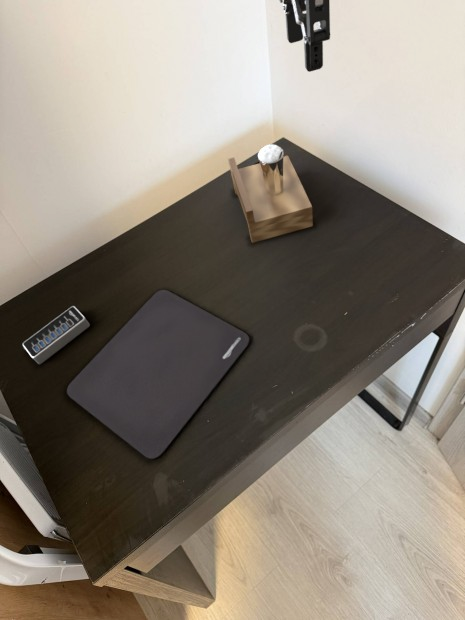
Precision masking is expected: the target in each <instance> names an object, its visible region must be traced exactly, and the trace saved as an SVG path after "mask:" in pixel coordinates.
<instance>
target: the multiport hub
mask: <svg viewBox="0 0 465 620" xmlns="http://www.w3.org/2000/svg"><path fill="white" fill-rule="evenodd" d="M90 325H91V324H90V322H89V321H88V320H87V318H86V317H85V316H84V315H83V314H82V312H80V310H79V309H78V308H77V307H76V306H75V305H72V306H70V307H69V308H68V309H67V310H65V311H64V312H62V313H61V314H60V315H58V316H57V317H55V318H54V319H53V320H51V321H50V322H49V323H48V324H46V325H45V326H43V327H42V328H41V329H40V330H38V331H37V332H36V333H34V334H33V335H31V336H30V337H29V338H28V339H26V340H24V341H23V342H22V347H23V349H24V350H25V351H26V352H27V353H28V355H29V356H30V357H31V358H32V360H34V361H35V362H36V363H37V364H38V365H42V364H43V363H44V362H45V361H47V360H48V359H50V358H51V357H52V356H53V355H55V354H56V353H57V352H58V351H60V350H61V349H62V348H64V347H65V346H67V344H68V343H70V342H71V341H73V340H74V339H75V338H77V337H78V336H79V335H80V334H82V333H83V332H84V331H86V330H87V329H88V328H89V327H90Z"/></svg>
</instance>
